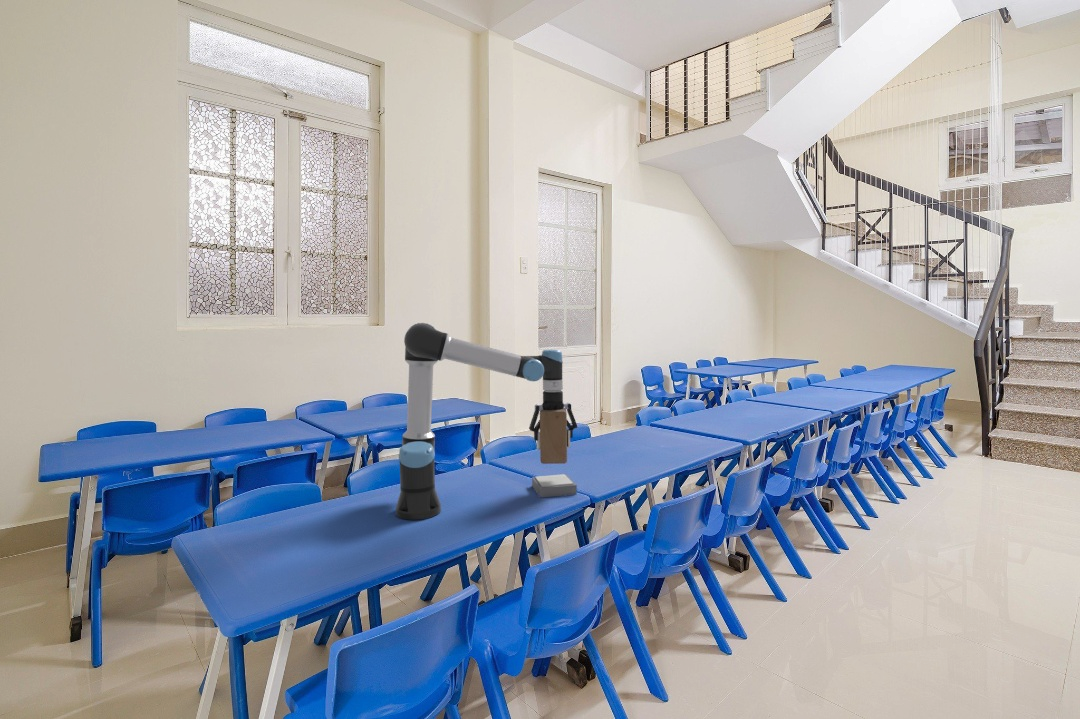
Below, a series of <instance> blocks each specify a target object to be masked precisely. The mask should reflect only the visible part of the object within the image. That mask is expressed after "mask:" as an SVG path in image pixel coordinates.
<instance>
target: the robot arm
mask: <svg viewBox="0 0 1080 719" xmlns="http://www.w3.org/2000/svg"><path fill="white" fill-rule="evenodd" d="M403 342H404V347H405V349H404V361H405V362H406V363H407V365H408V389H407V393H408V394H407V416H406V417H407V418H406V419H407V420H406V431H405V432H403V434H402V438H401V439H402V442H401V443H402V444H401V446H400V448H399V453H398V460H399V483H400V488H399V489H400V493H399V496H398V499H397V503H396V506H395V515H396V516H397V518H400V519H402V520H409V521H414V520H415V521H416V520H426V519H429V518H433V517H436V516H437V515H439V514H440V513H441V512H442V509H441V508H442V507H441V506H442V505H441V502H440V499H439V496H438V493H437V491H436V478H435V477H436V475H435V474H436V473H435V456H436V450H435V447H436V446H435V444H436V441H435V440H436V435H435V433H434V432H433V431H432V412H433V411H432V410H433V388H434V387H433V385H434V384H433V380H434V365H436V364H437V363H438V362H442V361H443V360H447V361H451V362H452V361H453V362H456V363H460V364H464V365H468V366H472V367H477V368H481V369H485V370H489V371H493V372H497V373H501V374H504V375H508V376H512V377H516V378H520V379H524V380H527V381H529V382H538V381H540V380H541V379H542V390H543V391H542V404H539V405H538V404H535V405H534V412H533V415H532V418H531V421H530V423H529V427H528V429H529V431H530V432H533V439H534V441H536V449H537V450H538V451H540V419H539V420H538V418H539V416H540V410H541V408H543V409H544V410H555V409H556V410H560V409H563V408H565V409H566V413H567V414H568V417H569V419H567V448H571V439H573V435H574V434H573V432H574V429H577V428H578V424H577V422H576V419H575V418H576V417H575V416H574V413H573V411H572V404H571V403H569V402H567V403H564V394H563V393H564V392H563V389H564V387H563V386H564V385H563V382H564V381H563V362H564V361H563V352H562V350H560V349H543V350H542V353H541V355H520V354H516V353H513V352H509V351H504V350H500V349H497V348H493V347H490V346H484V345H482V344H478V343H473V342H469V341H466V340H461V339H458V338H454V337H451V336H450V335H449V333H446V332H443V331H439V330H437V329H436V328H435V327H434V326H432V325H431V324H428V323H424V322H418V323H414V324H413V325H412V326H410V327H409V328H408V329H407V330H406V332H405V335H404V340H403ZM569 420H570V421H569ZM537 421H538V422H537ZM570 422H571V423H570Z"/></svg>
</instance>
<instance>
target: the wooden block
mask: <svg viewBox="0 0 1080 719" xmlns="http://www.w3.org/2000/svg"><path fill="white" fill-rule="evenodd" d="M567 414H568V412H567V409H565V407H564V408H563V409H560V410H556V409H555V410H544V409H543V408H541V410H540V411H539V420H540V429H539V432H540V450H539V451H540V453H539V456H540V463H541V464H543V465H544V464H545V465H548V464H549V465H551V464H554V465H555V464H567V463H568V447H567V429H568V427H567V420H568V418H567Z"/></svg>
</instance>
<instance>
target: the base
mask: <svg viewBox="0 0 1080 719" xmlns="http://www.w3.org/2000/svg"><path fill="white" fill-rule="evenodd" d="M531 486H532V488H533V489H534V491H535V492H536V493H537V495H538V497H539V498H550V497H560V496H571V495H577V490H578V485H577V484H576V482H574V481H573V480H572V478H570V477H569V475H567V474H566V473H565V474H552V475H551V474H550V475H540V476H539V475H538V476H535V477H534V476H532V477H531Z"/></svg>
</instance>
